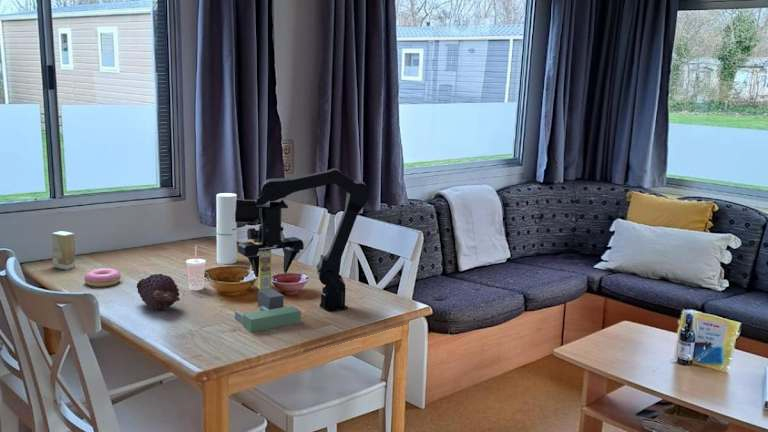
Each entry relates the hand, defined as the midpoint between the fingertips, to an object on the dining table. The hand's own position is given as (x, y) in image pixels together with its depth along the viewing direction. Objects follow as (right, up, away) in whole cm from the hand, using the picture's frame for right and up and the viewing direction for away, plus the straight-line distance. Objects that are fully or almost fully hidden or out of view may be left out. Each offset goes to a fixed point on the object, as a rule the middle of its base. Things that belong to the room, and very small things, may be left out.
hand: (271, 274), depth 198 cm
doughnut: (-58, -5, +20) cm, 61 cm away
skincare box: (-77, -1, +35) cm, 85 cm away
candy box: (-8, -6, +24) cm, 25 cm away
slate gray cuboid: (-1, -10, +2) cm, 11 cm away
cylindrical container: (-25, 0, +51) cm, 57 cm away
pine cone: (-33, -10, -1) cm, 34 cm away
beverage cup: (-27, -6, +18) cm, 33 cm away
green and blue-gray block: (0, -12, -8) cm, 15 cm away
